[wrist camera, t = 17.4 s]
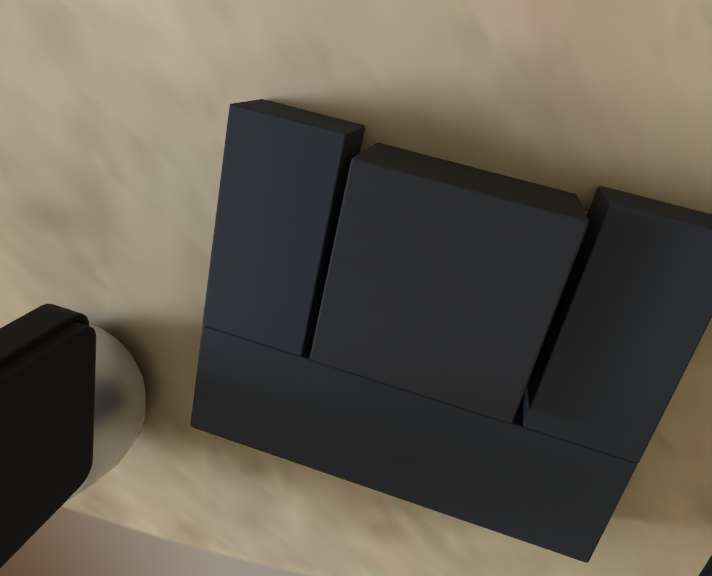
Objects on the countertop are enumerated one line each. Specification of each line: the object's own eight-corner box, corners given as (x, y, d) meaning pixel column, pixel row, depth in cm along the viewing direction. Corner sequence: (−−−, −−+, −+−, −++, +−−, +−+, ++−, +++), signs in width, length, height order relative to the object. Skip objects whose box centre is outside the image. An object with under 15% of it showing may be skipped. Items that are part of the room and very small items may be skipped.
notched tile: (260, 98, 20) (229, 103, 18) (721, 217, 18) (752, 239, 16) (218, 393, 25) (189, 427, 23) (581, 514, 23) (588, 564, 21)
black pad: (376, 142, 20) (351, 157, 17) (577, 194, 19) (590, 220, 16) (337, 317, 22) (308, 360, 19) (511, 371, 21) (512, 424, 18)
